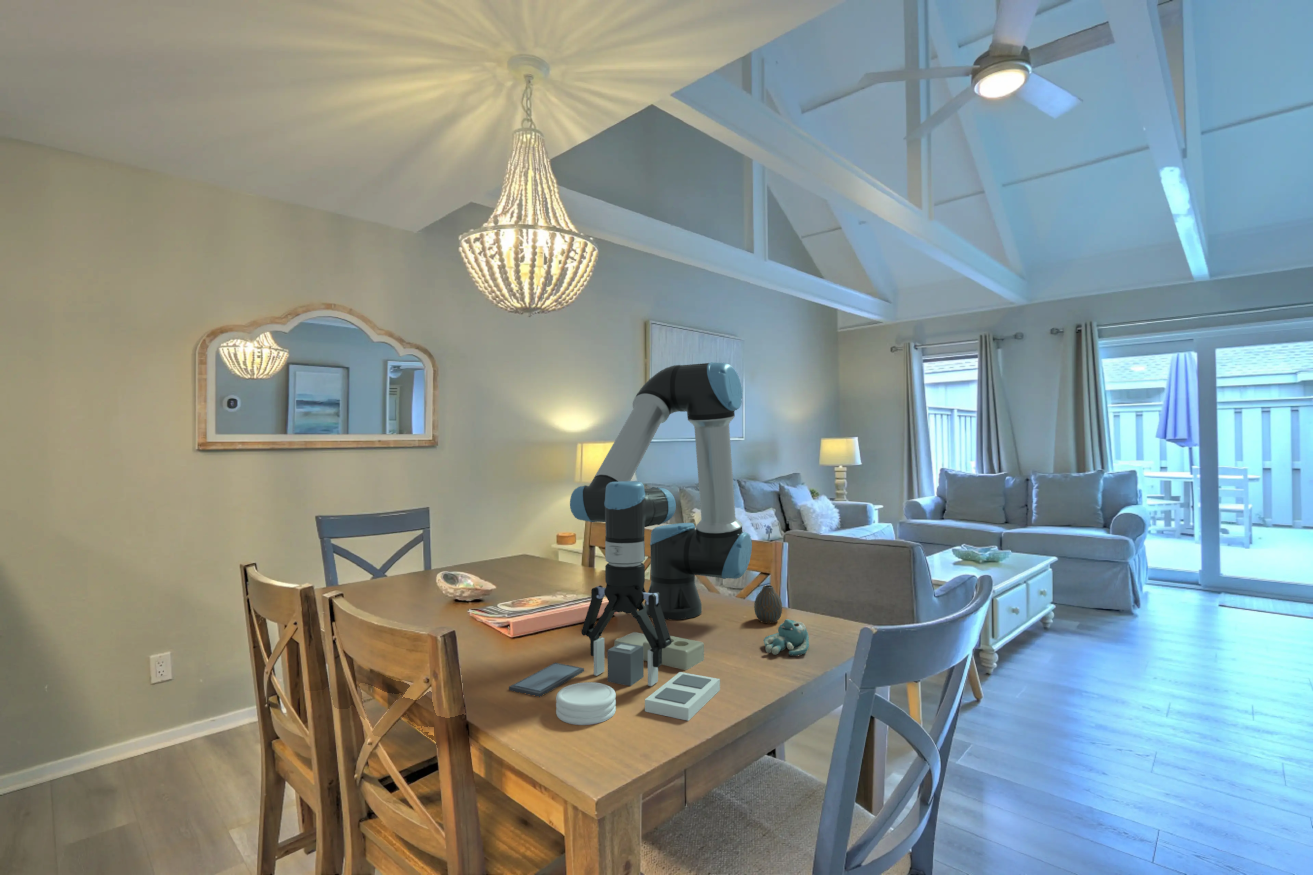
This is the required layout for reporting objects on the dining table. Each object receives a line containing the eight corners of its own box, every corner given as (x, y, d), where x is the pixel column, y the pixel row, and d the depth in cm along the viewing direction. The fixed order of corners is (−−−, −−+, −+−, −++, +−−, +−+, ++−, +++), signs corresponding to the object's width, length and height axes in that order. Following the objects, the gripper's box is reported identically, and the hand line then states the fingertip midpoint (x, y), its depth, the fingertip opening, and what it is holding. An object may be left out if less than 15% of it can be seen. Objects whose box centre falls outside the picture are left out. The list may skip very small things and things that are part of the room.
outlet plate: (680, 682, 118) (680, 670, 118) (720, 689, 115) (719, 677, 115) (644, 711, 106) (644, 698, 106) (688, 720, 102) (688, 707, 102)
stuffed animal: (747, 627, 135) (778, 606, 144) (751, 658, 136) (782, 635, 145) (789, 638, 128) (820, 615, 136) (793, 671, 129) (824, 646, 137)
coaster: (626, 716, 104) (626, 695, 104) (571, 732, 99) (571, 710, 99) (598, 696, 113) (598, 676, 113) (546, 709, 107) (546, 688, 107)
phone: (555, 668, 128) (555, 661, 128) (584, 674, 125) (584, 667, 125) (509, 693, 115) (509, 685, 115) (539, 700, 112) (539, 692, 112)
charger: (621, 672, 124) (620, 641, 124) (643, 677, 121) (643, 644, 121) (607, 681, 119) (607, 648, 119) (630, 686, 117) (630, 652, 117)
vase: (754, 616, 162) (753, 582, 162) (781, 617, 161) (781, 583, 161) (754, 624, 155) (754, 588, 155) (783, 625, 154) (782, 589, 154)
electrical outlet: (634, 627, 141) (704, 641, 131) (634, 645, 141) (704, 661, 131) (614, 635, 135) (686, 651, 125) (614, 654, 135) (686, 672, 125)
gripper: (562, 561, 122) (563, 674, 122) (672, 571, 112) (672, 696, 111) (584, 554, 129) (584, 662, 129) (689, 564, 118) (689, 681, 118)
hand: (625, 678), depth 120 cm, fingers open, 11 cm apart
